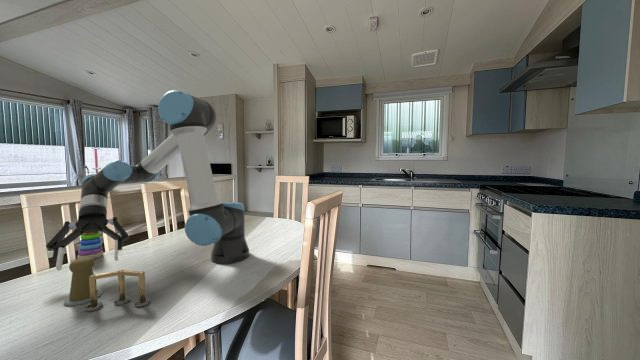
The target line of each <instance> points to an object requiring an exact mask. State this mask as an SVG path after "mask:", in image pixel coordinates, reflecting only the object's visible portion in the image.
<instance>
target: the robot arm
mask: <svg viewBox="0 0 640 360" xmlns="http://www.w3.org/2000/svg"><path fill="white" fill-rule="evenodd" d="M157 112H158V116H159V118H160V120H162V121H163V122H164V123H165V124H168V126H169V130H170V135H169V136H168V137H167V138H166V139H165V140H163V141H162V142H161V143H160V144H159V145H157V147H156V148H154V149H153V150H152V151H151V152H150V153H148V154H147V156H145V157H144V158H143V159H141V160H140V162H138V163H137V164H136V165H134V164H131V165H130V164H129V163H127V162H126V161H123V160H120V159H115V160H113V161H111V162H110V163H109V162H108V164H106V165H105V166H104V167H103V168H102V169H100V170H99V171H98V172H97V173H91V174H86V176H84V178H83V180H82V183H81V194H80V202H79V211H78V217H77V221H76V222H70V221H65V222H64V224H63V225H62V228H61V229H60V230H59V231H58V232H57V233H56V234H55V235H54V236H53V237H52V238H51V240H50V241H49V242H47V244H46V245H45V247H46V249H47V251H48V252H51V251H53V253H52V259H53V260H54V261H56V263H55V269H56V270H57V271H59V272H60V271H62V268H63V261H64V254H65V250H64V249H65V248H66V247H67V246H68V245H70V244H71V243H73V241H75V240H76V239H77V238H79V237H81V235H82V234H84V233H86V234H89V233H97V232H98V233H100V232H101V233H103V234H105V235H107V236H108V237H110V238H111V239H113V240H114V261H115V262H116V261H119V251H122V250H123V243H124V242H125V241H129V240H130V237H129V236H130V235H129V234H128V232H127V231H126V230H125V229H124V228H123V226H122V225H121V224H120V222H119V221H118V217H117V216H114V217H112V218H108V217H107V216H108V215H107V214H108V198H109V196H108V195H109V193H110V192H111V191H113V190H114V189H115V188H117V187H118V186H120V185H130V184H141V183H143V184H144V183H145V184H146V183H150V182H151V183H152V182H154V181H156V180H157V179H158V177H159V172H160V171H161V170H162V169H163V168H165V167H166V166H167V165H169V163H171V162H172V160H174V159H175V158H176V157H178V156H179V155H180V158H181V162H182V166H183V171H184V175H185V176H184V177H185V179H186V185H187V189H188V193H189V197H190V202H191V205H190V206H189V208H188V209H187V211H188V216H189V217H188V218H187V219H186V222H184V232H185V235H186V237H187V239H188V240H189V241H190V242H192V243H193V244H194V245H197V246H201V247H207V246H210V245H212V248H211V252H210V260H211V261H212V262H213V263H216V264H233V263H238V262H241V261H244V260H246V259H248V257H249V256H250V248H249V246H248V243H247V242H248V241H247V240H246V237H245V227H246V226H245V222H246V221H245V212H246V211H245V205H244V204H243V202H232V201H231V202H225V201H224V202H223V201H221V200H220V199H218V198H219V197H218V194H217V189H216V186H215V181H214V176H213V171H212V168H211V163H210V162H211V161H210V158H209V154H208V148H207V144H206V140H205V136H206V135H207V134H208V133H210V132H211V130H213V128H214V127H215V124H216V122H217V112H216V110H215V108H214V107H213V105H212V104H211V103H210V102H209V101H206V100H204V99H201V98H198V97H197V96H194V95H191V94H190V93H188V92H186V91H182V90H178V89H176V90H175V89H174V90H169V91H167V92H166V93H165V94H164V95H162V97H161V99H160V100H159V101H158V106H157ZM107 218H108V219H107ZM108 224H110V225H112V226H114V229H115V230H116V231H117V232H118V233H117V232H116V231H114V230H112V229H111V228H110V227H108V226H107V225H108ZM73 228H75V229H74V230H73ZM71 230H73V231H72V232H70V231H71ZM69 232H70V233H69ZM68 233H69V234H68ZM67 234H68V235H67Z"/></svg>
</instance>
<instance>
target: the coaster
mask: <svg viewBox="0 0 640 360" xmlns="http://www.w3.org/2000/svg"><path fill="white" fill-rule="evenodd" d="M97 290H98V293H97V299H99V298H100V297H101V296H102V294H103V291H102V290H101V289H100V288H99V289H98V288H97ZM88 303H90V298H89V299H86V300H82V301H77V302H71V301H69V296H67V297H66V298H65V299H64V300H63V305H64V306H65V307H77V306H81V305H85V304H88Z"/></svg>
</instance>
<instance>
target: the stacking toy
mask: <svg viewBox="0 0 640 360" xmlns="http://www.w3.org/2000/svg"><path fill="white" fill-rule="evenodd" d="M100 236H101V233H100V232H97V233H89V234H86V233H84V234H82V235H81V236H80V240H79V245H78V251H77V258H76V259H79V258H85V257H90V258H92V259H93V260H96V259H98V258H100V257H102V256H103V255H104V251H103V243H102V241H101V240H102V238H101V237H100Z"/></svg>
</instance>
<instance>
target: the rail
mask: <svg viewBox="0 0 640 360" xmlns="http://www.w3.org/2000/svg"><path fill="white" fill-rule="evenodd" d="M125 276H127V277H136V278H137V277H138V292H139V293H138V294H139V299H138V300H137V301H135V303H134V308H144V307H147V306H148V305H150V304H151V302H152V301H151V298H149V297H147V296H146V274H145V271H144V270H143V271H141V270H140V271H139V270H138V271H137V270H127V269H119V270H115V271H109V272H104V273H97V274H94V275H90V276H89V286H90V302H89V303H90V304H88V305H87V306H86V307H85V308H84V311H85V313H92V312H93V313H94V312H96V311H99V310H100V309H102V308H103V307H104V302H101V301H99V302H98V298H97V289H98V286H97V284H98V283H97V280H101V279H105V278H112V277H117V280H118V281H117V282H118V298H117V299H115V300H114V302H113V304H114V306H117V307H118V306H122V305H125V304H129V303H130V302H131V297H130V296H127V295H126V279H125V278H126V277H125Z"/></svg>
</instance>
